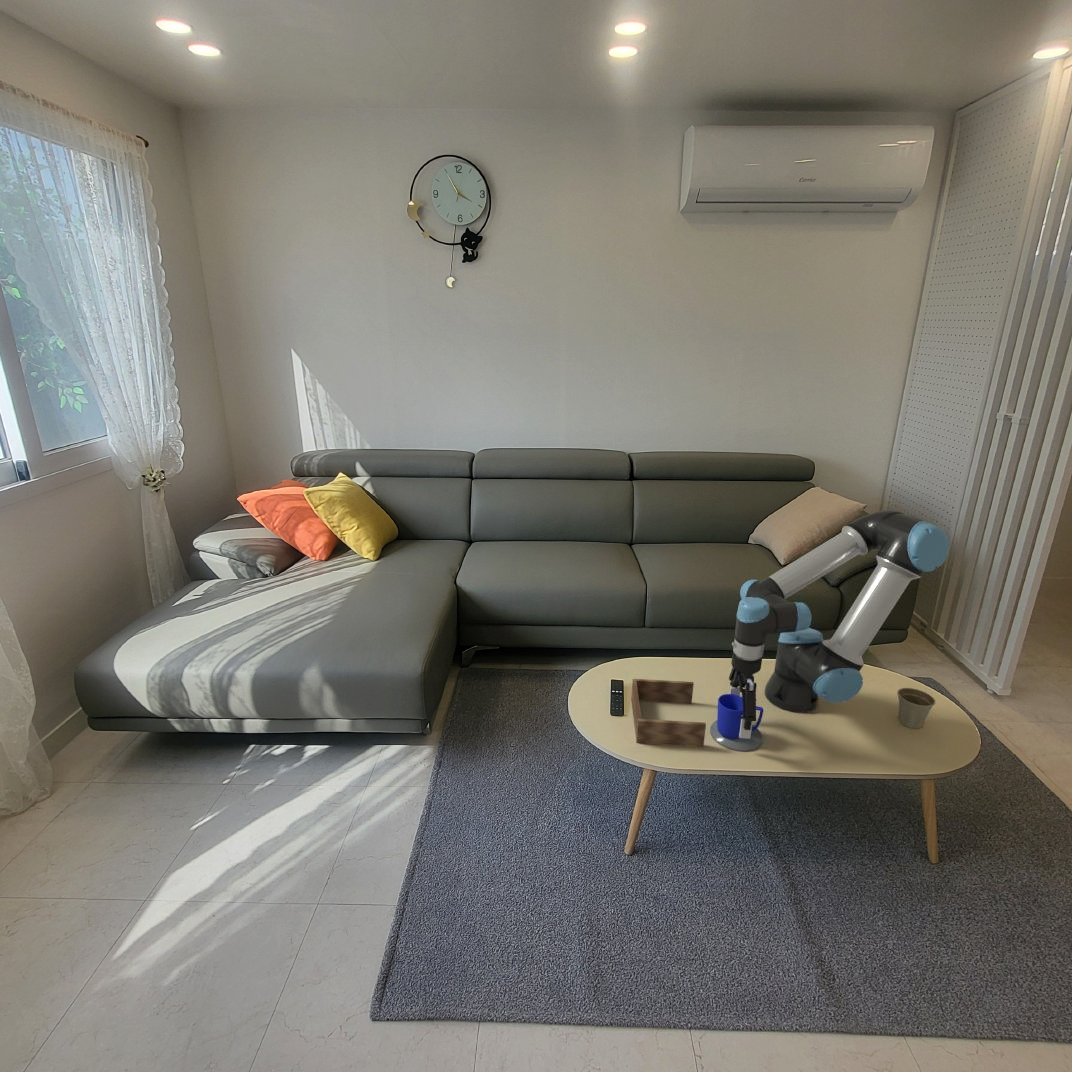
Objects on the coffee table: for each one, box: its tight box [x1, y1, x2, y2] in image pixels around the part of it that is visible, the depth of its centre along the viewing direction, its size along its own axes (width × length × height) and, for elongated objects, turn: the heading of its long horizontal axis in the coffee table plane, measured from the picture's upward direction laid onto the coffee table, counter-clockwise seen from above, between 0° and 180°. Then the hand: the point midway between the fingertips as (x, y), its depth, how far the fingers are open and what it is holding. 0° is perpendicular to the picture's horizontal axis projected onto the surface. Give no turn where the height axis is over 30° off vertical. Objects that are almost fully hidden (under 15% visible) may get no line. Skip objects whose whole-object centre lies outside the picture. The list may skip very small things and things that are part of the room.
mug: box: [716, 693, 764, 739], centre depth 168 cm, size 8×12×10 cm
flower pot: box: [897, 687, 936, 729], centre depth 175 cm, size 9×9×9 cm
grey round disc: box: [709, 719, 764, 753], centre depth 170 cm, size 14×14×1 cm
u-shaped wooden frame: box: [630, 678, 707, 748], centre depth 175 cm, size 18×21×7 cm
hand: (738, 722), depth 169 cm, fingers open, 13 cm apart
